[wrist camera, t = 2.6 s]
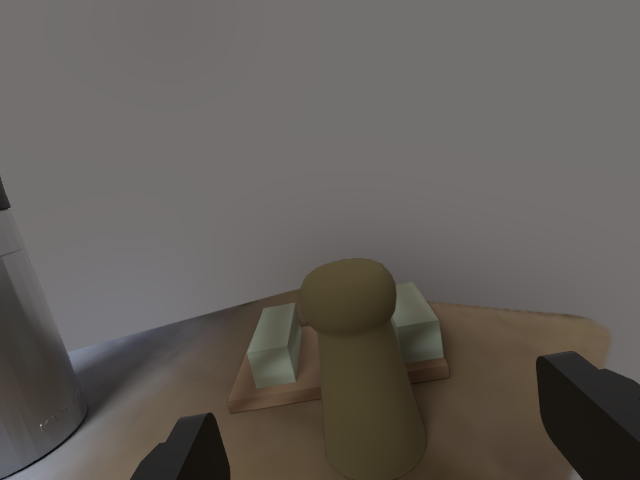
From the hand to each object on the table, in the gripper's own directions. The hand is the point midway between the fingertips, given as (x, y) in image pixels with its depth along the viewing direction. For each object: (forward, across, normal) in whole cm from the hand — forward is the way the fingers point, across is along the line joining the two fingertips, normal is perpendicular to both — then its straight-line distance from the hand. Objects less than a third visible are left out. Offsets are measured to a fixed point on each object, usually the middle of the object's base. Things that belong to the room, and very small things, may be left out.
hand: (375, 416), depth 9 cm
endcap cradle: (+21, +1, +10) cm, 23 cm away
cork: (+11, 0, +10) cm, 15 cm away
